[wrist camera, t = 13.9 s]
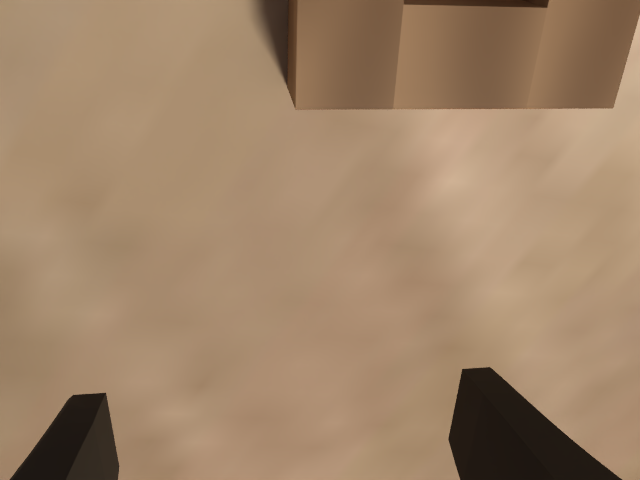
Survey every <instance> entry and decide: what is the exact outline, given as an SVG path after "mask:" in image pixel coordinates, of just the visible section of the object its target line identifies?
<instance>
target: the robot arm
mask: <svg viewBox="0 0 640 480" xmlns="http://www.w3.org/2000/svg"><path fill="white" fill-rule="evenodd" d="M449 443H450V446H451V450H452V453H453V457H454V460H455V464H456V467H457V470H458V473H459V477H460V480H622V479H621V478H619V477H618V476H617V475H615V474H614V473H613V472H611V471H610V470H609V469H608V468H606V467H605V466H604V465H602V464H601V463H600V462H599V461H597V460H596V459H595V458H593V457H592V456H591V455H590V454H588V453H587V452H586V451H585V450H584V449H582V448H581V447H580V446H579V445H578V444H576V443H575V442H574V441H573V440H572V439H570V438H569V437H568V436H567V435H566V434H564V433H563V432H562V431H561V430H560V429H559V428H557V427H556V426H555V425H554V424H553V423H552V422H551V421H549V420H548V419H547V418H546V417H545V416H544V415H543V414H542V413H540V412H539V411H538V410H537V409H536V408H535V407H534V406H533V405H532V404H530V403H529V402H528V401H527V400H526V399H525V398H524V397H523V396H522V395H520V394H519V393H518V392H517V391H516V390H515V389H514V388H513V387H512V386H511V385H509V384H508V383H507V382H506V381H505V380H504V379H503V378H502V377H501V376H499V375H498V374H497V373H496V372H495V371H494V370H493V369H491V368H490V367H487V368H472V369H462V374H461V379H460V384H459V389H458V394H457V399H456V404H455V409H454V414H453V419H452V424H451V429H450V434H449ZM118 473H119V463H118V457H117V452H116V446H115V441H114V435H113V430H112V424H111V418H110V413H109V407H108V402H107V396H106V393H97V394H82V395H73V396H72V397H71V398H69V399H68V400H67V402H66V403H65V405H64V406H63V408H62V409H61V411H60V412H59V414H58V415H57V417H56V418H55V419H54V421H53V422H52V424H51V425H50V427H49V428H48V429H47V431H46V432H45V434H44V435H43V436H42V438H41V439H40V440H39V442H38V443H37V445H36V446H35V447H34V449H33V450H32V451H31V453H30V454H29V455H28V457H27V458H26V459H25V461H24V462H23V463H22V465H21V466H20V467H19V468H18V470H17V471H16V472H15V474H14V475H13V476H12V477H11V479H10V480H118Z"/></svg>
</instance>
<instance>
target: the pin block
mask: <svg viewBox="0 0 640 480" xmlns="http://www.w3.org/2000/svg"><path fill="white" fill-rule="evenodd" d="M639 15H640V0H288V72H287V88H288V90H289V93H290V96H291V98H292V101H293V104H294V107H295V109H296V110H311V109H563V108H613V107H614V103H615V100H616V96H617V93H618V89H619V86H620V82H621V79H622V75H623V72H624V68H625V64H626V61H627V57H628V54H629V50H630V47H631V43H632V40H633V36H634V33H635V29H636V26H637V22H638V19H639Z"/></svg>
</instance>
